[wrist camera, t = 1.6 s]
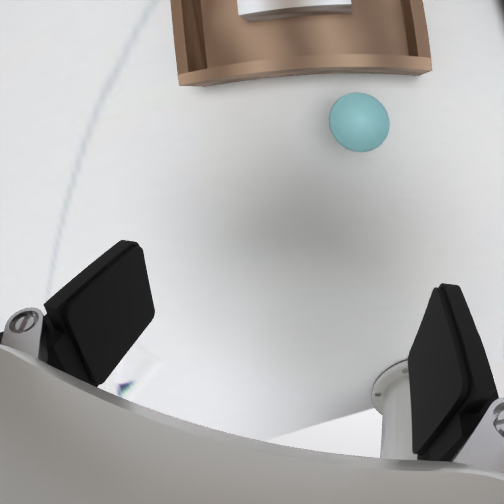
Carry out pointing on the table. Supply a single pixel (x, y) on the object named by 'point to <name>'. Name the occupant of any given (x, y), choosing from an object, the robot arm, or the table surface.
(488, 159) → the table surface
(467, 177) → the table surface
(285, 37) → the box
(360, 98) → the peg
